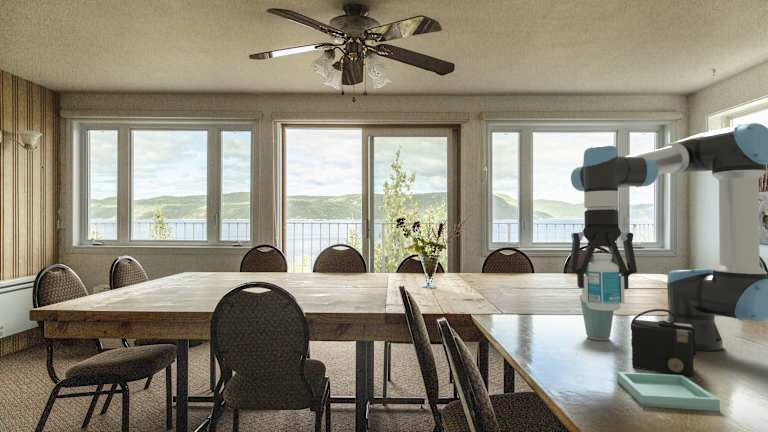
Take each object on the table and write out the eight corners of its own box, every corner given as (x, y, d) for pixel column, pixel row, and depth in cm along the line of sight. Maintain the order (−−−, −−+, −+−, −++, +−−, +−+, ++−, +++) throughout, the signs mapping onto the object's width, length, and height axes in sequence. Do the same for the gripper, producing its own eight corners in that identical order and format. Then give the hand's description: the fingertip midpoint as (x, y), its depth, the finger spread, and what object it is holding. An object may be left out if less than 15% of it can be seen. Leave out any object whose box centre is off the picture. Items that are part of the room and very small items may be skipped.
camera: (698, 379, 100) (696, 316, 101) (630, 369, 108) (629, 310, 108) (693, 366, 110) (692, 309, 110) (632, 358, 117) (631, 304, 117)
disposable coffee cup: (581, 340, 135) (580, 293, 135) (579, 332, 145) (578, 289, 145) (618, 344, 131) (618, 295, 131) (614, 335, 141) (613, 290, 141)
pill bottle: (619, 307, 105) (618, 253, 106) (621, 312, 99) (620, 255, 99) (586, 304, 109) (585, 252, 109) (585, 310, 102) (584, 254, 102)
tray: (682, 384, 97) (682, 375, 97) (719, 411, 83) (719, 399, 83) (617, 381, 100) (617, 371, 100) (642, 406, 86) (642, 395, 86)
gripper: (640, 209, 106) (642, 300, 105) (554, 210, 110) (555, 298, 109) (653, 207, 98) (655, 306, 98) (560, 209, 103) (562, 303, 102)
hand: (602, 301), depth 104 cm, fingers closed on pill bottle, 7 cm apart
